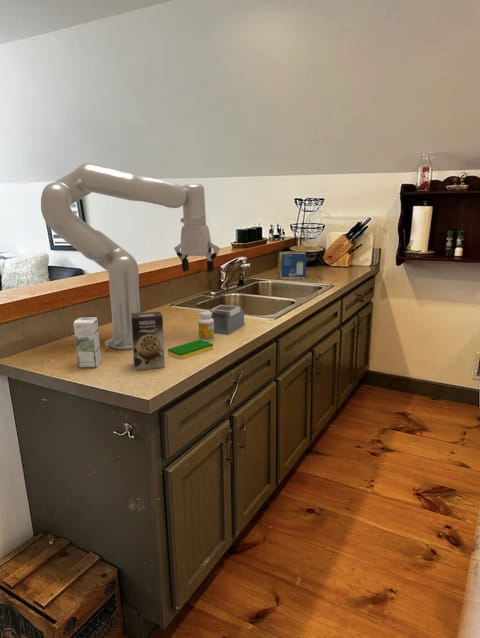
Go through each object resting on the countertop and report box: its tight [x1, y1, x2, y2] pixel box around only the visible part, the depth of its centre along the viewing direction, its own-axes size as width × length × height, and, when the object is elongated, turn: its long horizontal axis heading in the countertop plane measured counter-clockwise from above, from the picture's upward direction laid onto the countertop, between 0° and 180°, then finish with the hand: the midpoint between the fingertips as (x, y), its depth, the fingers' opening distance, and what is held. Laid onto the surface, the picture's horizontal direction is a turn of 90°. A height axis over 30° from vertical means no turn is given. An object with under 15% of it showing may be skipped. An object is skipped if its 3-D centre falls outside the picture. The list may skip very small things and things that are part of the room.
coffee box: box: [131, 311, 166, 371], centre depth 140 cm, size 9×6×16 cm
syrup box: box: [73, 317, 102, 369], centre depth 141 cm, size 6×6×14 cm
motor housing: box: [209, 304, 245, 335], centre depth 180 cm, size 17×9×8 cm, turn 155°
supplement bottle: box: [198, 311, 215, 342], centre depth 165 cm, size 5×5×10 cm
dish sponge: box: [167, 339, 214, 360], centre depth 154 cm, size 7×14×2 cm, turn 135°
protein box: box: [277, 250, 307, 278], centre depth 282 cm, size 10×15×16 cm
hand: (198, 271), depth 164 cm, fingers open, 9 cm apart
